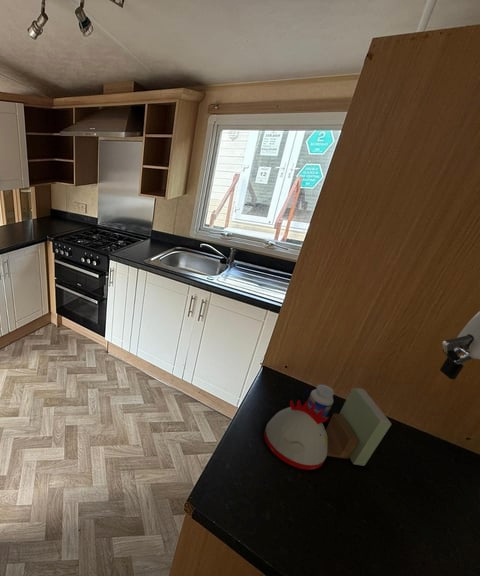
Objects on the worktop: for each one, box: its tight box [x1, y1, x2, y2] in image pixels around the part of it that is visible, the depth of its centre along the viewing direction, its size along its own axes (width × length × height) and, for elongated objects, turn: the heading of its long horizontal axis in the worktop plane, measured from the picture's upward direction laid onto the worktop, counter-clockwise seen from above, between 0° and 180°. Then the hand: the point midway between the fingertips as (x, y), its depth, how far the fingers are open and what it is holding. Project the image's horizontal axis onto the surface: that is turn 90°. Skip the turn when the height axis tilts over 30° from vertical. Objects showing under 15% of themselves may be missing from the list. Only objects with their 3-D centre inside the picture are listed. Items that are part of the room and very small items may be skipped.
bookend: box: [325, 413, 358, 460], centre depth 81 cm, size 5×8×7 cm, turn 170°
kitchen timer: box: [263, 399, 330, 471], centre depth 79 cm, size 14×14×15 cm
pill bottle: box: [307, 384, 335, 418], centre depth 89 cm, size 5×5×10 cm
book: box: [338, 387, 392, 467], centre depth 79 cm, size 15×11×2 cm
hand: (472, 377), depth 68 cm, fingers open, 9 cm apart
